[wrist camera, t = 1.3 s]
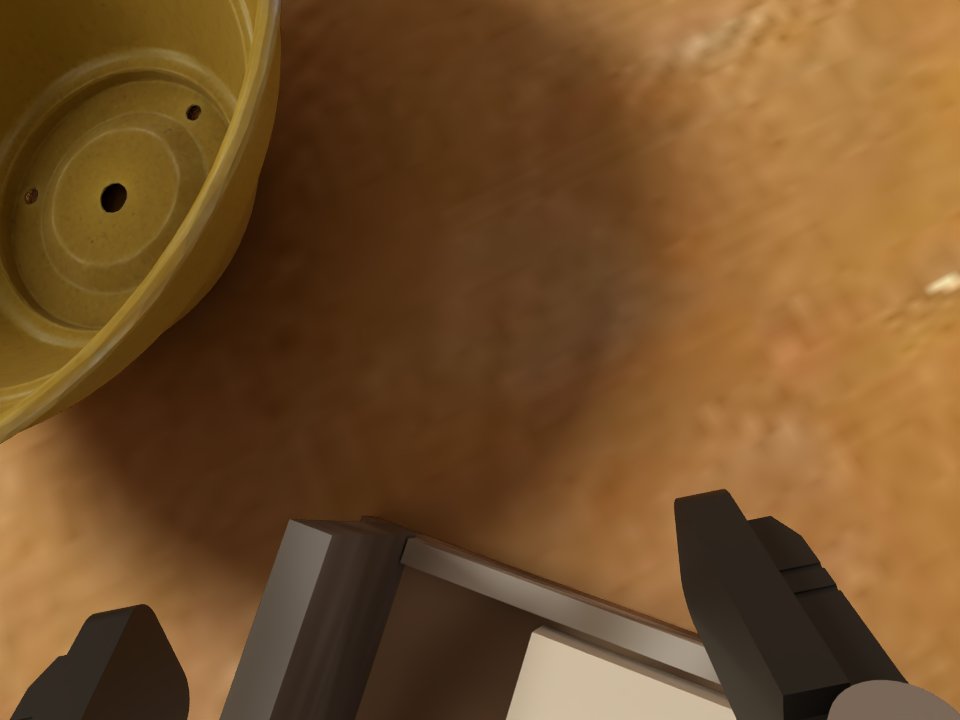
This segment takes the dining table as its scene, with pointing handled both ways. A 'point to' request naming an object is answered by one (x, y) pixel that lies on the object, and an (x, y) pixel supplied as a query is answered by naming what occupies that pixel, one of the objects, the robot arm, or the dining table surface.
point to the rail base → (418, 629)
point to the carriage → (603, 686)
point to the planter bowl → (120, 178)
